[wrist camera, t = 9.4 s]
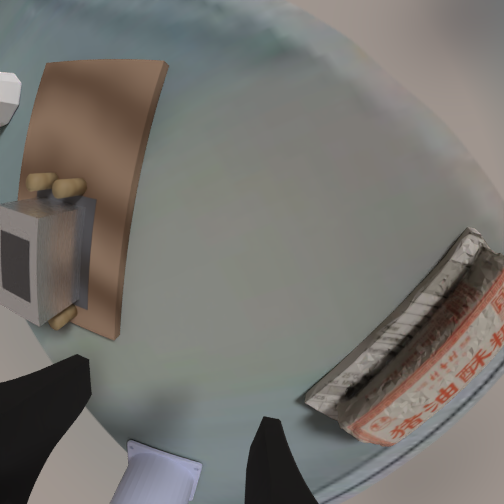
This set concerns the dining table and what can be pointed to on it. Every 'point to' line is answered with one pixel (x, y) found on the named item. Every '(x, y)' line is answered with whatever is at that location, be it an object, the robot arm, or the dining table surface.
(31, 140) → the walnut tray
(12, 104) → the salt shaker
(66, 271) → the block
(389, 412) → the packaged product
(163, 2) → the dining table surface
